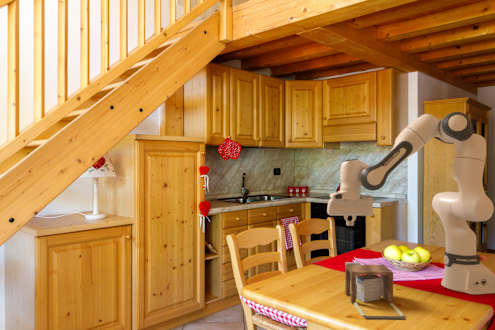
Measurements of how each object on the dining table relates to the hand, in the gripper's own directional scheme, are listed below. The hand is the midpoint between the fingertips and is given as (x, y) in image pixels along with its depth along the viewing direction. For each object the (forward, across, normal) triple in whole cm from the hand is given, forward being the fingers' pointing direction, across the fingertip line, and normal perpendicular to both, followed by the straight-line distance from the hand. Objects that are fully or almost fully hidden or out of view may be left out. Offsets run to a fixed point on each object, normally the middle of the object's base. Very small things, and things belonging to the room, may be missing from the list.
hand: (350, 225), depth 171 cm
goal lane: (+23, 0, +40) cm, 46 cm away
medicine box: (+23, 0, +29) cm, 37 cm away
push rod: (+23, 0, +13) cm, 26 cm away
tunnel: (+23, 0, +28) cm, 36 cm away
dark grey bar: (+23, 0, +46) cm, 51 cm away
